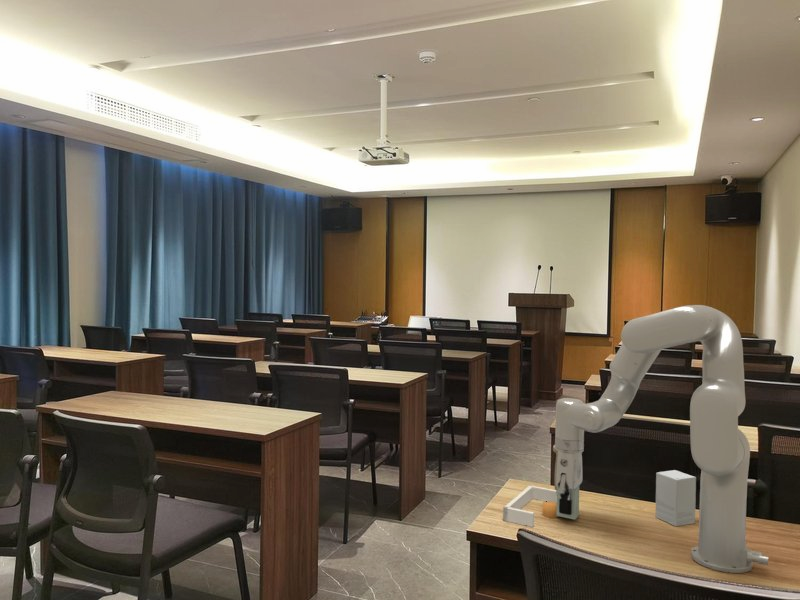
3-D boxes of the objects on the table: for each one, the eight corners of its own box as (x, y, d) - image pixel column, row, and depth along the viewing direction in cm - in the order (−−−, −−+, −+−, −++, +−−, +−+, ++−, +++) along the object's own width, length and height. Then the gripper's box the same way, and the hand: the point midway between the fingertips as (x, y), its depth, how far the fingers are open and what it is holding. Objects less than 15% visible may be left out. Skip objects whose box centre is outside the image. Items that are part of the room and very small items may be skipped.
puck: (560, 514, 167) (561, 503, 167) (555, 519, 163) (556, 508, 163) (545, 511, 169) (545, 500, 169) (540, 515, 165) (540, 505, 165)
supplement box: (696, 523, 162) (697, 477, 162) (675, 527, 159) (676, 479, 159) (674, 513, 169) (675, 469, 169) (654, 517, 166) (655, 471, 166)
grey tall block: (578, 514, 164) (579, 485, 164) (574, 519, 161) (575, 489, 160) (560, 511, 167) (561, 482, 166) (556, 515, 163) (557, 486, 163)
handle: (570, 494, 184) (572, 445, 183) (566, 500, 178) (567, 450, 178) (555, 491, 186) (556, 443, 186) (549, 497, 180) (551, 447, 180)
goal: (556, 502, 176) (556, 490, 176) (532, 527, 157) (533, 513, 157) (529, 496, 180) (529, 485, 180) (503, 520, 161) (503, 507, 161)
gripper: (575, 453, 154) (573, 524, 154) (590, 440, 169) (588, 504, 169) (546, 448, 158) (544, 517, 158) (563, 436, 172) (562, 499, 173)
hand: (567, 510), depth 164 cm, fingers closed on grey tall block, 4 cm apart
